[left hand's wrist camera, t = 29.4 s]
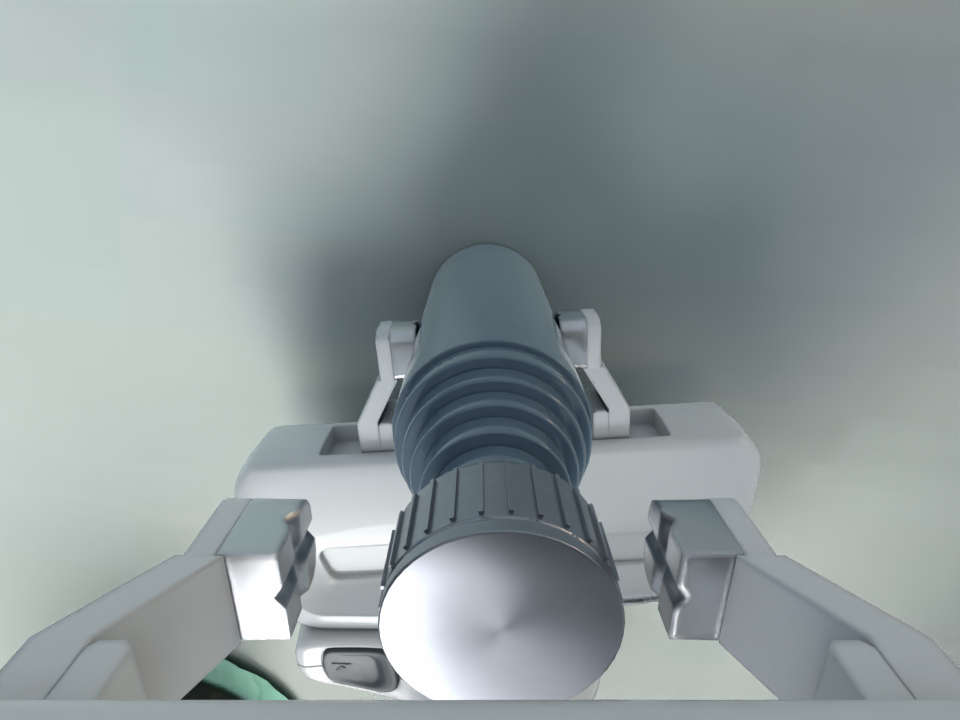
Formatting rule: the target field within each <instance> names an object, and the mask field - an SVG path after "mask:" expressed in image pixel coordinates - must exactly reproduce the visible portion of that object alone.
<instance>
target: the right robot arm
mask: <svg viewBox="0 0 960 720" xmlns="http://www.w3.org/2000/svg"><path fill="white" fill-rule="evenodd" d="M554 317H555V319H556V322H557V324H558V327H559V329H560V332H561V334H562V337H563V339H564V342H565V344H566V347H567V349H568V352H569V354H570V357H571V359H572V362H573V364H574V367H575V368H583V370H584V371H585V373H586V374H587V376H588V377H589V379H590V381H591V382H592V384H593V385H594V388H586V389H585V390H584V391H585V394H586V396H587V399H588V401H589V405H590V409H591V413H592V423H593V429H592V450H591V455H590V460H589V463H588V466H587V468H586V471H585V473H584V475H583V477H582V480H581V483H580V485H579V487H578V488H579V491H580V494H581V495H582V496H583V498H584V499H585V500H586V501H587V502H588V504H590V503H592V504H593V506H594V509H595V512H596V515H597V519H598V522H602V525H603V528H604V531H605V534H606V537H607V541H608V544H609V547H610V550H611V553H612V557H613V560H614V563H615V566H616V569H617V573H618V576H619V579H620V581H618V584H619V588H620V591H621V594H622V597H623V602H622V603H623V605H638V604H644V603H650V602H656V601H659V598H660V596H658V595H657V594H656V593H655V592H653V591H652V590H651V589H650V586H649V583H648V580H647V577H646V572H645V568H644V543H645V537H646V536H647V535H648V534H649V533H650V532H651V531H652V527H651V525H650V523H649V520H648V512H649V506H650V504H651V501H652V500H692V499H710V498H733V499H735V500H737V501H738V502H739V504H740V505H741V506H742V508H743V509H744V511H745V512H746V513H747V515H748V516H749V514H750V510H751V507H752V503H753V499H754V495H755V492H756V487H757V483H758V478H759V472H760V455H759V452H758V450H757V448H756V446H755V444H754V443H753V442H752V440H751V439H750V437H749V436H748V435H747V433H746V432H745V431H744V430H743V428H742V427H741V426H740V425H739V424H738V423H737V422H736V421H735V420H734V419H733V418H732V417H731V416H730V415H729V414H727V413H726V412H725V411H724V410H723V409H722V408H721V407H720V406H718V405H717V404H715V403H712V402H692V403H675V404H657V405H640V406H628V404H627V402H626V400H625V398H624V397H623V395H622V393H621V391H620V389H619V387H618V386H617V384H616V382H615V381H614V379H613V378H612V376H611V374H610V373H609V371H608V370H607V368H606V366H605V365H604V363H603V362H602V360H601V324H600V318H599V316H598V314H597V313H596V311H595V310H594V308H591V309H575V310H561V311H555V313H554ZM419 326H420V321H419V320H401V321H393V320H392V321H383V322H380V324H379V326H378V327H377V329H376V351H377V358H378V365H379V375H378V377H377V380H376V382H375V384H374V386H373V388H372V390H371V393H370V395H369V397H368V399H367V401H366V404H365V406H364V409H363V411H362V413H361V416H360V418H359V420H358V422H343V423H326V424H309V425H288V426H279V427H275V428H273V429H272V430H270V431H269V432H268V433H267V435H266V436H265V437H264V438H263V439H262V441H261V442H260V443H259V444H258V445H257V447H256V448H255V449H254V450H253V452H252V453H251V454H250V456H249V457H248V459H247V461H246V462H245V464H244V465H243V467H242V469H241V471H240V473H239V475H238V477H237V480H236V484H235V498H252V499H255V498H267V499H306V500H307V501H308V502H309V503H310V507H311V513H312V520H311V523H310V525H309V527H308V531H309V532H310V533H311V534H312V535H313V536H314V537H315V542H316V566H315V572H314V577H313V580H312V583H311V586H310V589H309V590H308V591H307V592H305V593H304V594H303V595H302V596H300V598H301V605H302V610H301V613H300V615H299V618H298V620H297V622H298V623H301V626H300V630H299V635H298V640H297V645H296V660H297V664H298V667H299V669H300V670H301V672H302V673H303V674H304V675H305V676H306V677H308V678H310V679H313V680H316V681H319V682H324V683H329V684H334V685H340V686H345V687H350V688H355V689H360V690H365V691H369V692H373V693H377V694H381V695H384V696H388V697H392V698H395V699H398V700H431V699H429V698H428V697H426V696H424V695H422V694H421V693H419V692H418V691H416V690H415V689H413V688H412V687H411V686H410V685H409V684H407V683H406V682H405V681H404V680H403V679H402V678H401V677H400V676H399V675H398V674H397V672H396V671H395V670H394V669H393V667H392V666H391V664H390V663H389V661H388V659H387V657H386V655H385V653H384V651H383V649H382V645H381V641H380V638H379V631H378V615H379V611H378V606H379V601H380V596H381V591H382V589H380V585H381V580H382V575H383V571H384V566H385V561H386V557H387V552H388V548H389V543H390V538H391V534H392V530H396V525H397V520H398V516H399V512H400V511H401V510H402V511H404V510H405V508H406V507H407V505H408V504H409V503H410V501H411V498H412V493H411V491H410V489H409V488H408V485H407V484H406V482H405V480H404V478H403V476H402V475H401V472H400V470H399V467H398V464H397V460H396V456H395V449H394V441H393V432H392V425H393V415H394V410H395V406H396V402H397V399H389V397H390V395H391V393H392V391H393V389H394V387H395V384H396V382H397V380H398V378H404V376H405V373H406V369H407V366H408V363H409V359H410V356H411V353H412V349H413V346H414V343H415V339H416V336H417V333H418V329H419ZM388 399H389V400H388ZM600 677H601V676H600ZM599 683H600V678H599V679H597V680H596V681H595V682H594V683H593V684H592V685H590V686H589V687H588V688H586V689H585V690H584V691H582V692H581V693H579V694H578V695H576V696H574V697H572V698H570V699H568V700H595V699H596V696H597V693H598V689H599Z"/></svg>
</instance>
